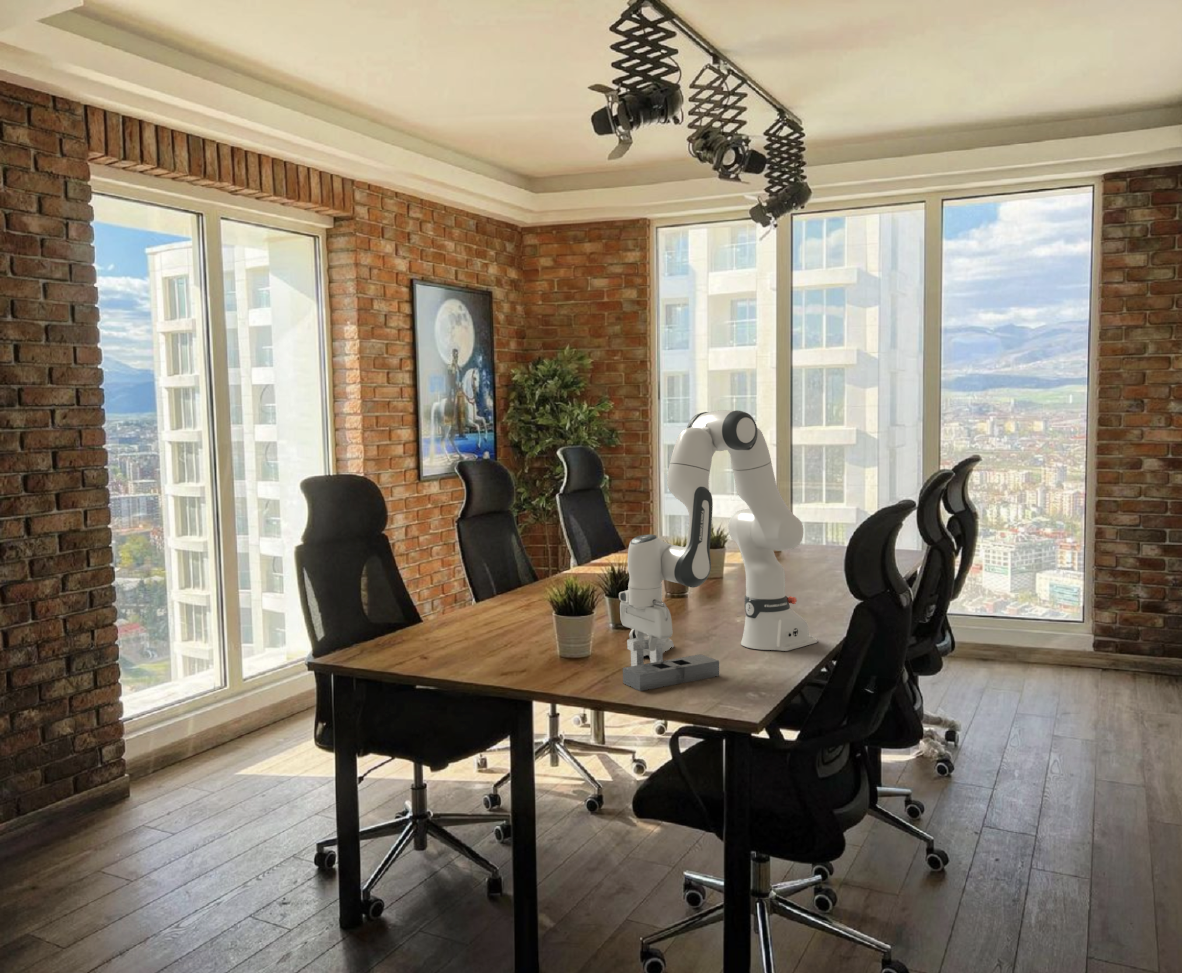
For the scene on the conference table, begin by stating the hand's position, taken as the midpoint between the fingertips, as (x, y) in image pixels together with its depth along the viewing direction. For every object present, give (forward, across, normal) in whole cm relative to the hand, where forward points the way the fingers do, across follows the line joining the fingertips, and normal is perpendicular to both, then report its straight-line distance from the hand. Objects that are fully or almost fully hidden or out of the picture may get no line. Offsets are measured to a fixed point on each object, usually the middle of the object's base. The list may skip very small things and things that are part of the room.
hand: (646, 648), depth 258 cm
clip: (+5, 0, 0) cm, 5 cm away
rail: (+6, -12, 0) cm, 13 cm away
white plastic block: (+6, +15, -11) cm, 20 cm away
